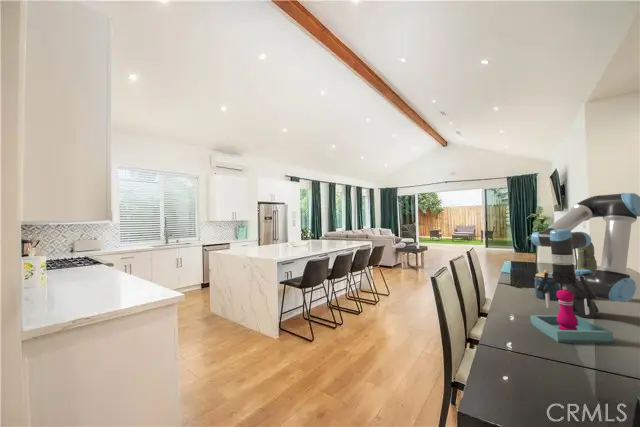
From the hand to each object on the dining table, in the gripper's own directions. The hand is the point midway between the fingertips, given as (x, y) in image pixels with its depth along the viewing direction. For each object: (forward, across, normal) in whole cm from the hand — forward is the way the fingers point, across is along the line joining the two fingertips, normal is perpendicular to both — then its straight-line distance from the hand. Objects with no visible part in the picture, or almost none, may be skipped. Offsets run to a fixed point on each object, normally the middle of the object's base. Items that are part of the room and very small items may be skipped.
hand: (566, 310), depth 125 cm
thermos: (+11, -7, +73) cm, 74 cm away
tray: (+10, 0, 0) cm, 10 cm away
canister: (+11, -24, +57) cm, 63 cm away
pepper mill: (+9, 0, 0) cm, 9 cm away
